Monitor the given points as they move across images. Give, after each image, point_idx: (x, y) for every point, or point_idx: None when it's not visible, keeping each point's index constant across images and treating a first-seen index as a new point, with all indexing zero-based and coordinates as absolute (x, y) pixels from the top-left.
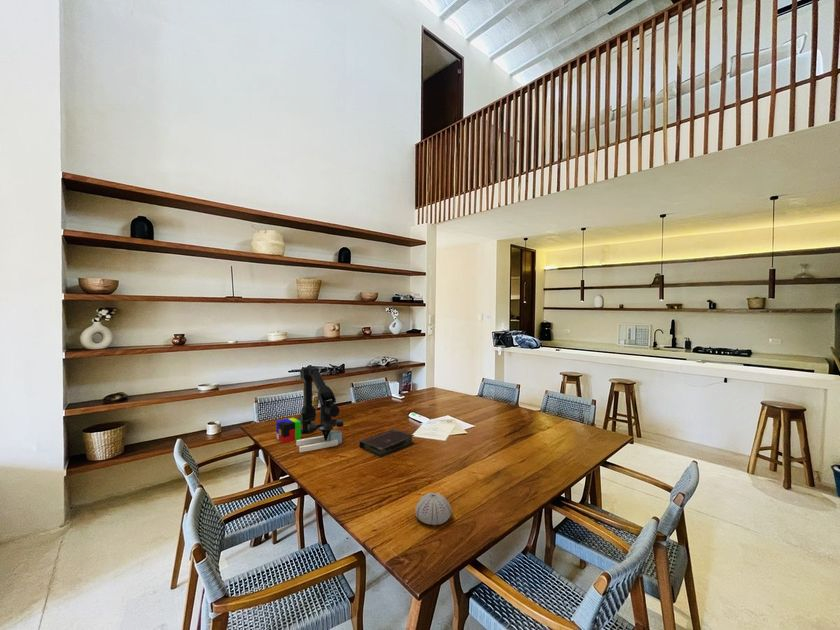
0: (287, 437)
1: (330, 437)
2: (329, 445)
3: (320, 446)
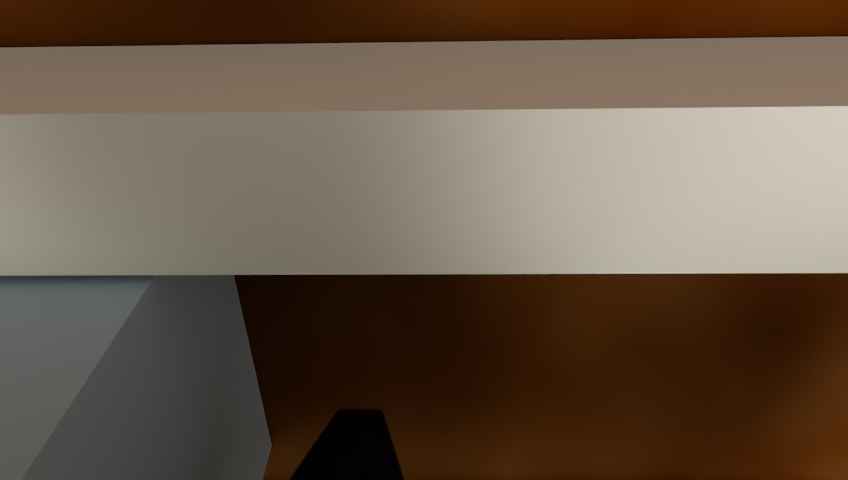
0: None
1: (145, 446)
2: (278, 62)
3: (684, 61)
